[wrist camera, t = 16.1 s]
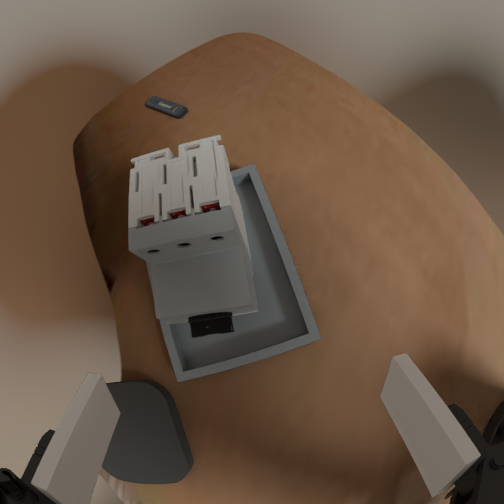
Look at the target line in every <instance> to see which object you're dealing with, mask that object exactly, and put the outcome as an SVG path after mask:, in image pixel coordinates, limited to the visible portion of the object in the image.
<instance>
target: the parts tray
mask: <svg viewBox="0 0 504 504" xmlns="http://www.w3.org/2000/svg"><path fill="white" fill-rule="evenodd" d="M230 173H231V176H232V179H233V183H234V186H235V190H236V193H237V194H238V197H239V200H240V204H241V207H242V210H243V218H244V221H245V227H246V232H247V238H248V244H249V249H250V255H251V261H252V266H253V272H254V276H253V282H254V288H255V293H256V299H257V305H258V312H253V313H247V314H241V315H235V316H233V317H232V321H233V327H234V332H231V333H224V334H219V333H218V334H211V335H206V336H203V337H195V338H192V335H191V329H190V323H178V324H167V321H166V320H161V319H159V321H160V324H161V328H162V332H163V335H164V339H165V343H166V346H167V349H168V353H169V356H170V359H171V363H172V366H173V369H174V372H175V375H176V378H177V381H178V382H181V381H186V380H190V379H194V378H198V377H202V376H206V375H210V374H214V373H218V372H221V371H225V370H229V369H232V368H236V367H239V366H243V365H246V364H249V363H252V362H256V361H259V360H262V359H265V358H268V357H271V356H274V355H277V354H280V353H283V352H286V351H289V350H292V349H295V348H298V347H300V346H303V345H306V344H309V343H311V342H314V341H316V340H319V339H321V337H320V334H319V331H318V328H317V325H316V322H315V319H314V317H313V314H312V311H311V308H310V306H309V303H308V300H307V297H306V295H305V292H304V289H303V286H302V284H301V281H300V278H299V276H298V273H297V270H296V268H295V265H294V262H293V260H292V257H291V255H290V252H289V249H288V247H287V244H286V242H285V239H284V236H283V234H282V231H281V229H280V226H279V224H278V221H277V219H276V216H275V214H274V211H273V209H272V206H271V204H270V201H269V199H268V196H267V194H266V191H265V189H264V187H263V184H262V182H261V179H260V177H259V174H258V172H257V170H256V167H255V165H254V164H252V165H249V166H246V167H243V168H240V169H236V170H233V171H230ZM146 265H147V269H148V274H149V279H150V283H151V288H152V292H153V285H152V274H151V264H150V263H148V262H147V261H146ZM153 297H154V296H153Z"/></svg>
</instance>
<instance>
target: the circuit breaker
mask: <svg viewBox="0 0 504 504" xmlns="http://www.w3.org/2000/svg"><path fill="white" fill-rule="evenodd" d="M219 140H221V136H220V135H218V136H213V137H209V138H204V139H200V140H196V141H192V142H188V143H184V144H180V145H179V157H177V158H175V156H174V155H173V154H172V152H171V151H170V149H169V148H166V149H162V150H159V151H156V152H152V153H149V154H146V155H143V156H139V157H136V158H133V159H131V162H132V163H133V164H134V163H135V168H134V169H130V185H129V215H128V228H129V229H128V241H129V251H130V252H132V253H133V254H135V255H137V256H138V257H140V258H142V259H143V260H145V261H147V262H148V263H150V264H151V274H152V285H153V296H154V305H155V314H156V318H157V319H161V320H166V321H167V324H178V323H190V329H191V335H192V338H195V337H203V336H206V335H211V334H218V333H219V334H224V333H231V332H234V327H233V321H232V317H233V316H235V315H241V314H247V313H253V312H258V305H257V299H256V293H255V288H254V282H253V276H254V272H253V266H252V261H251V255H250V249H249V244H248V238H247V232H246V227H245V221H244V218H243V210H242V207H241V204H240V200H239V197H238V194H237V193H236V190H235V186H234V183H233V179H232V176H231V173H230V168H229V162H228V159H227V155H226V152H225V149H224V145H220V146H219V145H218V142H217V141H219ZM196 146H199V147H200V148H197V149H193V150H189V149H188V148H192V147H196ZM162 155H164V157H162V158H159V159H155V157H159V156H162Z"/></svg>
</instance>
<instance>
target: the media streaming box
mask: <svg viewBox="0 0 504 504" xmlns="http://www.w3.org/2000/svg"><path fill="white" fill-rule="evenodd" d="M106 385H107V387H108V389H109V391H110V393H111V395H112V397H113V399H114V401H115V403H116V405H117V407H118V409H119V411H120V416H119V419H118V421H117V424H116V427H115V429H114V432H113V435H112V438H111V440H110V443H109V446H108V449H107V452H106V455H105V457H104V460H103V463H102V467H103V468H104V469H105V470H106V471H107V472H108V473H109V474H111V475H112V476H114V477H115V478H117V479H119V480H123V481H128V482H133V483H142V484H168V483H175V482H178V481H180V480H182V479H183V478H184V477H185V476H186V475H187V473H188V472H189V471H190V469H191V467H192V464H193V458H192V454H191V451H190V448H189V445H188V441H187V438H186V435H185V432H184V429H183V426H182V423H181V420H180V417H179V414H178V412H177V409H176V406H175V403H174V400H173V398H172V396H171V395H170V393H169V392H168V391H167V390H166V389H165V388H164V387H163V386H161V385H160V384H158V383H156V382H154V381H151V380H135V381H123V382H114V383H106Z"/></svg>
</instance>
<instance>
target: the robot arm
mask: <svg viewBox="0 0 504 504" xmlns="http://www.w3.org/2000/svg"><path fill="white" fill-rule="evenodd" d="M380 398H381V400H382V402H383V404H384V405H385V407H386V409H387V411H388V413H389V414H390V416H391V418H392V420H393V422H394V424H395V426H396V427H397V429H398V431H399V433H400V435H401V437H402V439H403V441H404V442H405V444H406V446H407V448H408V450H409V452H410V454H411V456H412V458H413V460H414V462H415V464H416V466H417V468H418V470H419V472H420V474H421V476H422V478H423V480H424V482H425V484H426V486H427V488H428V490H429V492H430V494H431V496H432V497H434V496H436V495H438V494H440V493H442V492H444V491H446V490H447V489H448V488H449V487H450V486H452V485H453V484H455V486H456V487H455V488H454V489H452V490H451V491H450V492H449V493H448V494H447V495H446V497H445V499H447V498H449V497H450V496H451V495H452V497H451V498H450V503H449V504H504V401H503V402H502V404H501V405H500V406H499V408H498V409H497V410H496V412H495V413H494V415H493V417H492V418H491V420H490V422H489V424H488V426H487V428H486V430H485V432H484V435H483V436H482V435H481V433H480V432H479V431H478V429H477V428H476V427H475V425H473V422H472V421H471V420H470V419H469V417H468V416H467V414H466V413H465V412H464V410H463V409H461V408H460V407H458V406H457V405H455V404H452V405H450V406H448V407H447V406H446V404H445V403H444V402H443V400H442V399H441V397H440V396H439V395H438V393H437V392H436V391H435V389H434V388H433V387H432V386H431V384H430V383H429V382H428V380H427V379H426V378H425V376H424V375H423V374H422V373H421V371H420V370H419V369H418V367H417V366H416V365H415V364H414V362H413V361H412V360H411V359H410V357H409V356H408V355H407V354H406V353H405V354H401V355H397V356H393V357H392V361H391V364H390V367H389V371H388V374H387V377H386V380H385V383H384V386H383V389H382V392H381V395H380ZM119 416H120V411H119V409H118V407H117V405H116V403H115V401H114V399H113V397H112V395H111V393H110V391H109V389H108V387H107V385H106V383H105V381H104V378H103V376H102V374H95V373H88V375H87V376H86V378H85V379H84V381H83V383H82V384H81V386H80V388H79V390H78V391H77V393H76V395H75V396H74V398H73V400H72V402H71V403H70V405H69V407H68V409H67V411H66V413H65V414H64V416H63V418H62V420H61V422H60V424H59V426H58V427H57V429H56V431H53V430H49V431H48V432H46V433H45V434H44V435H43V436H42V438H41V440H40V441H39V443H38V447H36V449H35V451H34V452H35V453H34V454H33V455H32V457H31V459H30V461H29V463H28V465H27V468H26V469H25V472H24V474H23V476H22V478H21V479H19V478H18V477H17V476H16V475H15V474H14V473H13V472H12V471H11V470H9V469H7V468H1V469H0V504H90V501H91V498H92V494H93V491H94V488H95V485H96V482H97V478H98V475H99V472H100V469H101V466H102V463H103V460H104V457H105V455H106V452H107V449H108V446H109V443H110V440H111V438H112V435H113V432H114V429H115V427H116V424H117V421H118V419H119Z"/></svg>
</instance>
